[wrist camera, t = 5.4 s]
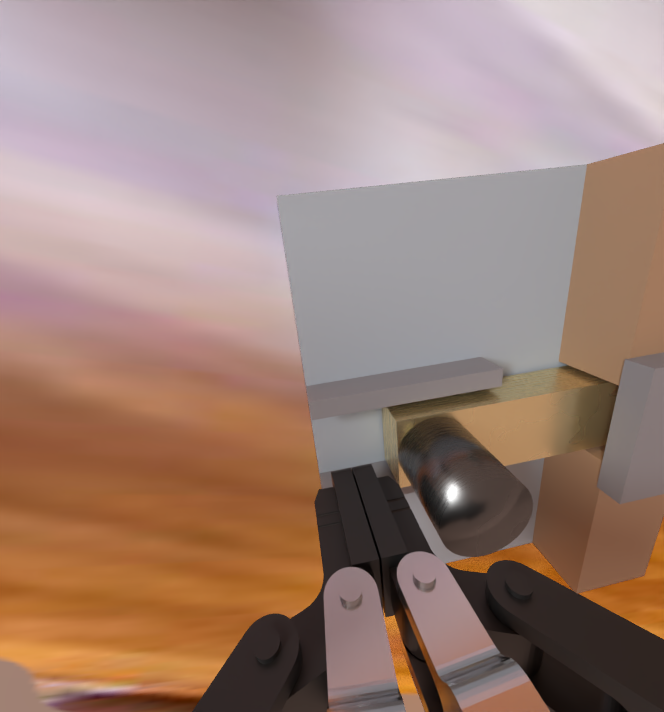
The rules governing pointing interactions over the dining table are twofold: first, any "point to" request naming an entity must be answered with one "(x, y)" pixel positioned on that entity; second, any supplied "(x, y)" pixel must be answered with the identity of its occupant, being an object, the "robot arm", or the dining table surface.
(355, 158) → the dining table surface
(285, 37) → the dining table surface
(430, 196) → the door plate
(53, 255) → the dining table surface
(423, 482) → the bolt
